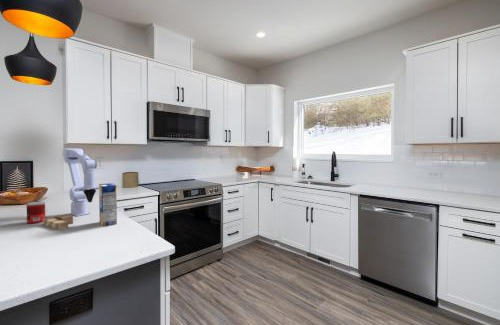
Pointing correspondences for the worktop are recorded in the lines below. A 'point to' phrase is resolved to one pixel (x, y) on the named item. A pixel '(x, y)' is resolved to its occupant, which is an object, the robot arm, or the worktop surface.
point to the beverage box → (108, 204)
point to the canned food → (35, 212)
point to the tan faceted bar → (55, 223)
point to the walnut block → (65, 218)
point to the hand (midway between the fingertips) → (89, 201)
